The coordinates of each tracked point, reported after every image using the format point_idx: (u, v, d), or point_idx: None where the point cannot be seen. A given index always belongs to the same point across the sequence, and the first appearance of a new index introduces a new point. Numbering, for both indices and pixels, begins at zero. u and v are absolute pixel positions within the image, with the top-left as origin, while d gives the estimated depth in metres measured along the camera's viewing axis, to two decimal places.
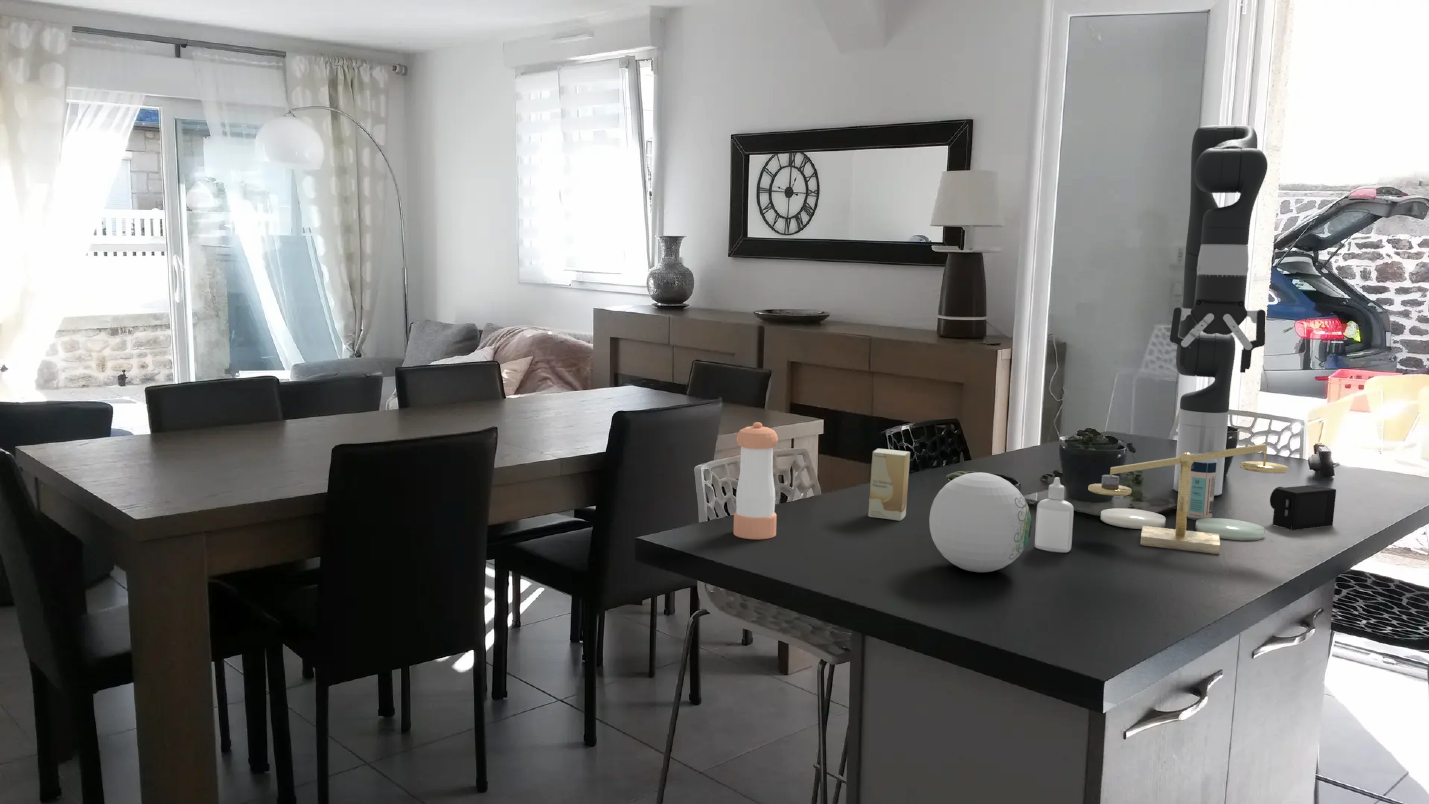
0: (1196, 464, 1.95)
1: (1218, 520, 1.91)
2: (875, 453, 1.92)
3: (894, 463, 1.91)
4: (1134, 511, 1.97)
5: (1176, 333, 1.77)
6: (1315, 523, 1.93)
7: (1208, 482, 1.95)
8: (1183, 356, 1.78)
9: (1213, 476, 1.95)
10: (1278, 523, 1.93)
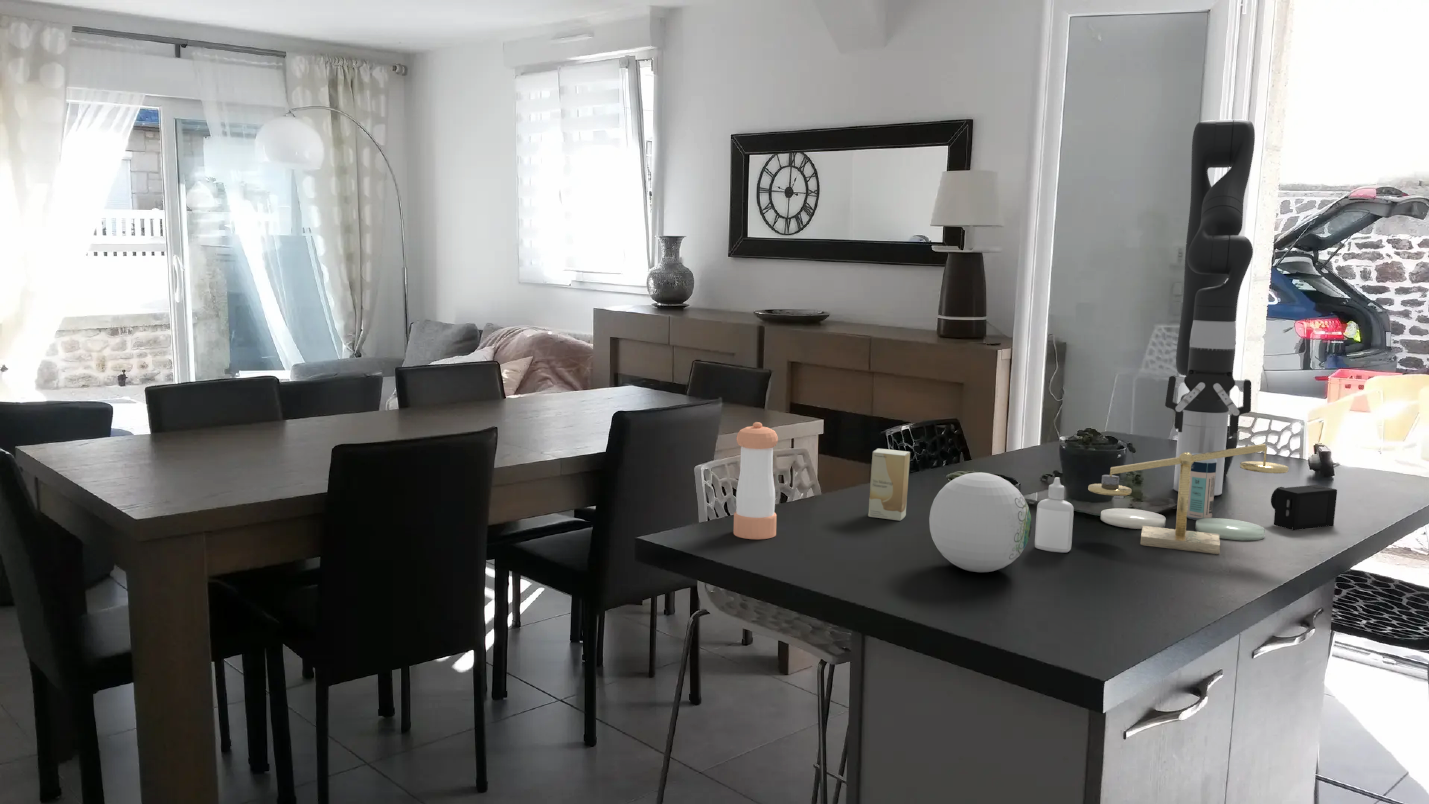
0: (1196, 464, 1.95)
1: (1218, 520, 1.91)
2: (875, 453, 1.92)
3: (894, 463, 1.91)
4: (1134, 511, 1.97)
5: (1171, 399, 1.96)
6: (1316, 523, 1.92)
7: (1208, 482, 1.95)
8: (1177, 420, 1.97)
9: (1213, 476, 1.95)
10: (1279, 523, 1.93)
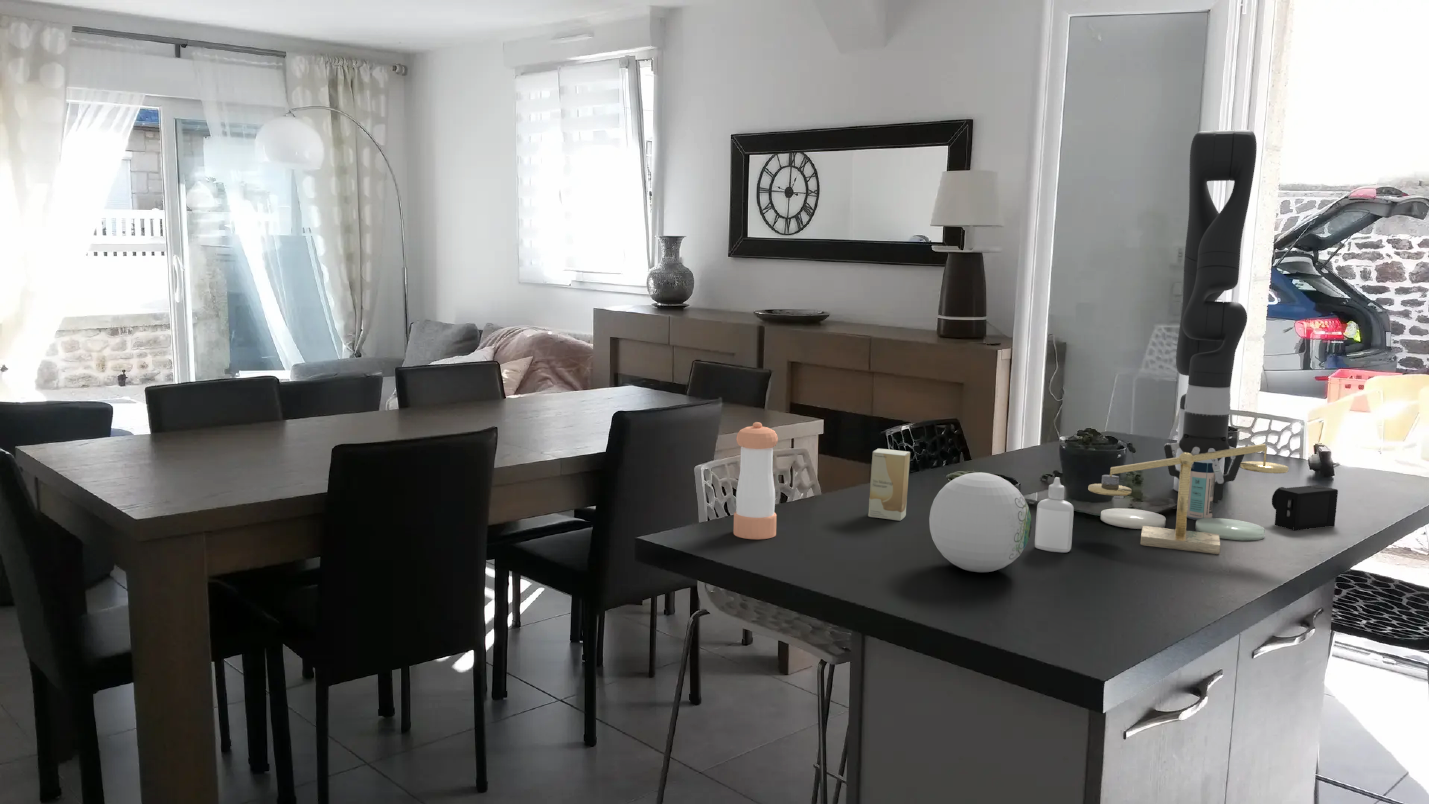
0: (1196, 464, 1.95)
1: (1218, 520, 1.91)
2: (875, 453, 1.92)
3: (894, 463, 1.91)
4: (1134, 511, 1.97)
5: (1173, 467, 1.98)
6: (1317, 523, 1.92)
7: (1208, 482, 1.95)
8: None
9: (1213, 476, 1.95)
10: (1280, 524, 1.93)
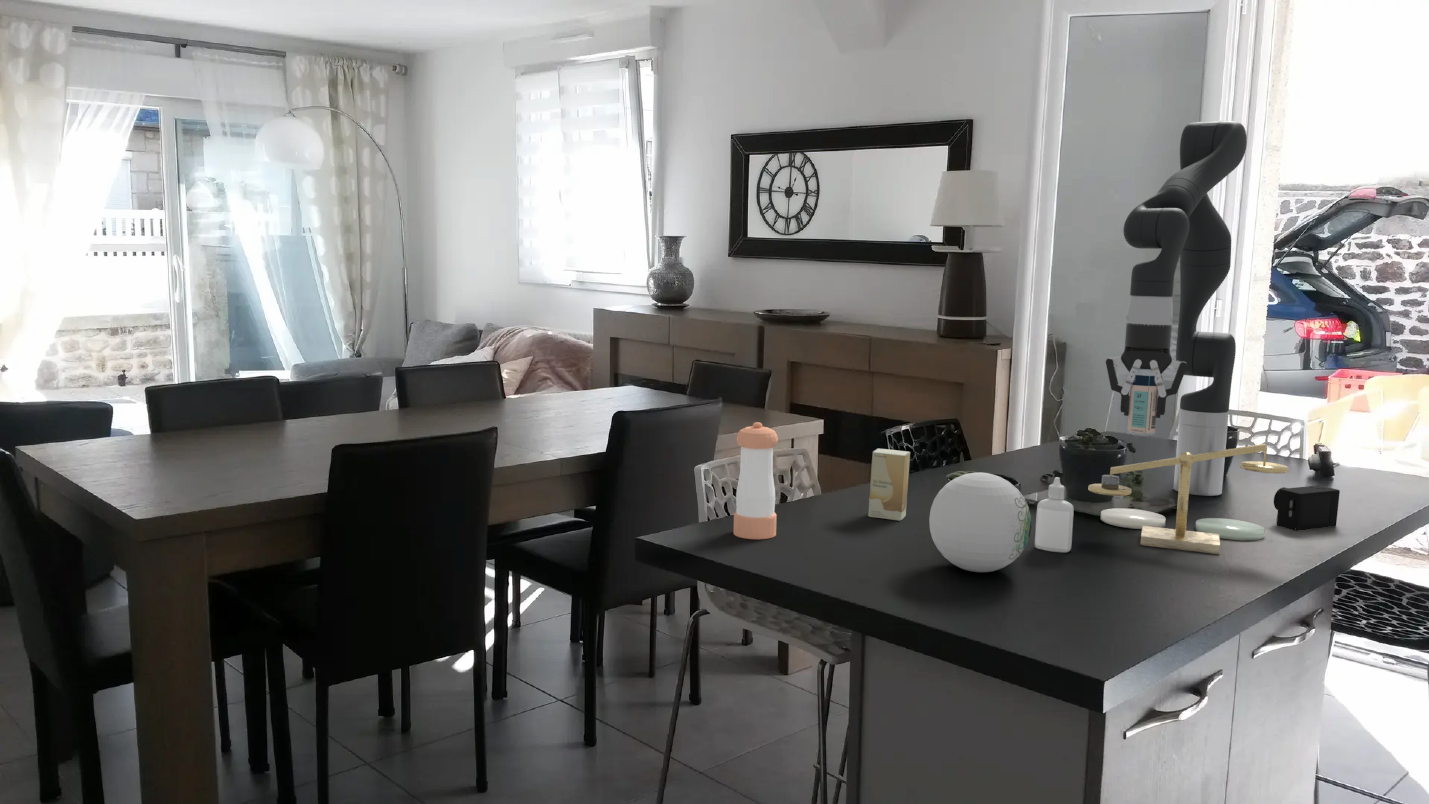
0: (1138, 377, 1.89)
1: (1218, 520, 1.91)
2: (875, 453, 1.92)
3: (894, 463, 1.91)
4: (1134, 511, 1.97)
5: (1115, 381, 1.92)
6: (1319, 523, 1.92)
7: (1150, 396, 1.89)
8: (1123, 403, 1.92)
9: (1155, 390, 1.89)
10: (1282, 524, 1.92)
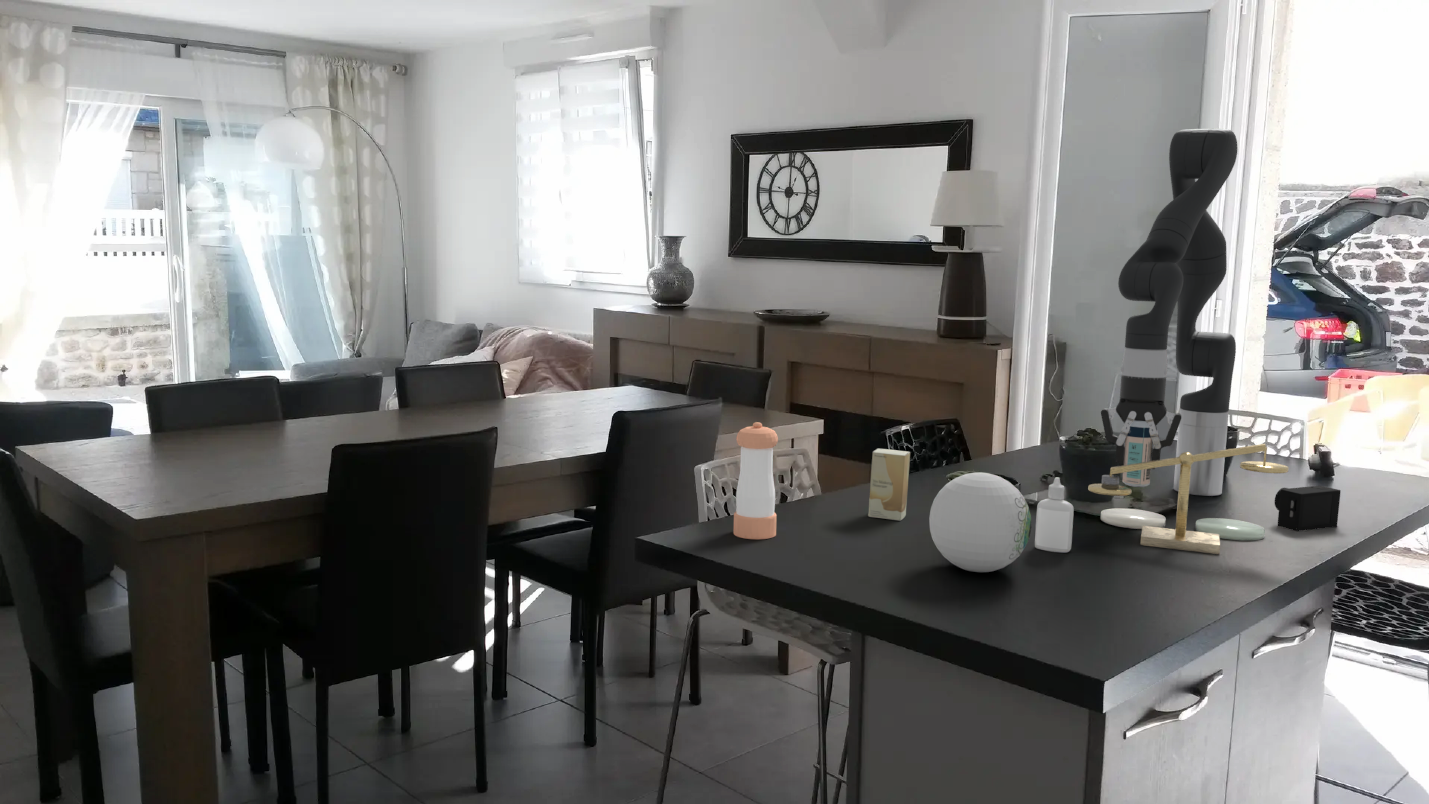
0: (1132, 429, 1.90)
1: (1218, 520, 1.91)
2: (875, 453, 1.92)
3: (894, 463, 1.91)
4: (1134, 511, 1.97)
5: (1110, 432, 1.93)
6: (1320, 524, 1.92)
7: (1145, 447, 1.90)
8: (1118, 454, 1.93)
9: (1150, 441, 1.90)
10: (1283, 524, 1.92)
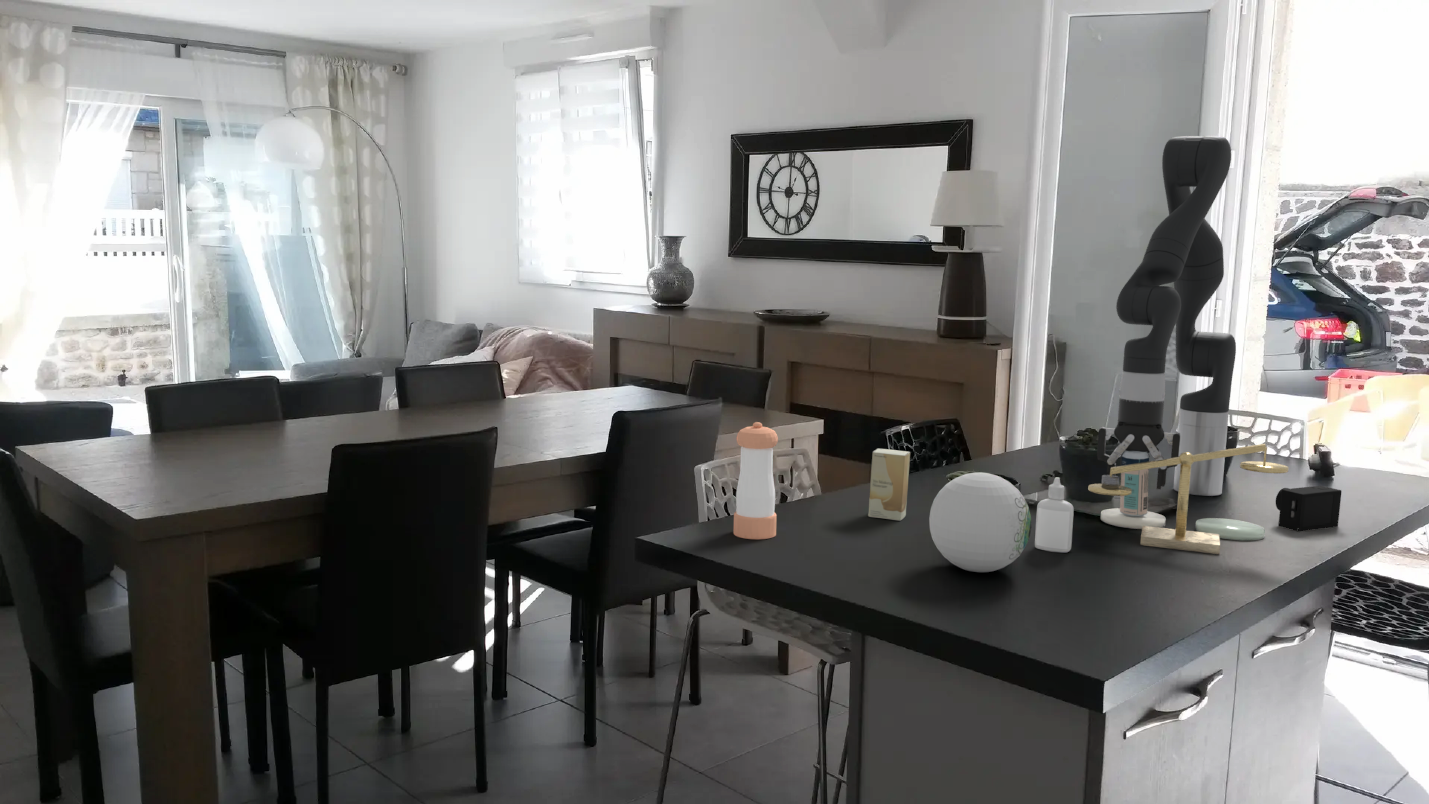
0: (1128, 460, 1.91)
1: (1218, 520, 1.91)
2: (875, 453, 1.92)
3: (894, 463, 1.91)
4: None
5: (1102, 452, 1.94)
6: (1321, 524, 1.92)
7: (1141, 478, 1.91)
8: (1109, 472, 1.94)
9: (1146, 472, 1.91)
10: (1284, 524, 1.92)
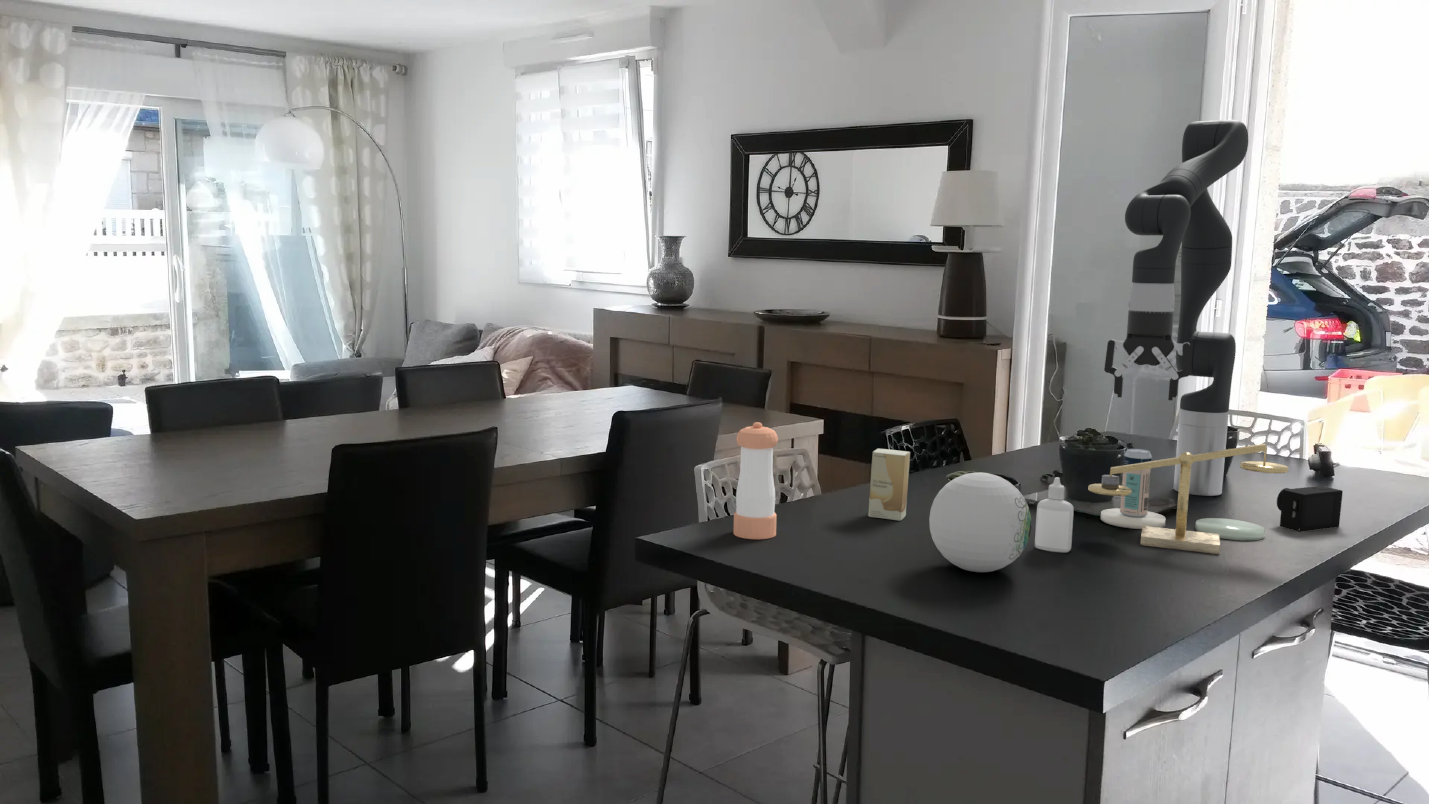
0: (1130, 460, 1.91)
1: (1218, 520, 1.91)
2: (875, 453, 1.92)
3: (894, 463, 1.91)
4: None
5: (1110, 364, 1.93)
6: (1322, 524, 1.92)
7: (1142, 478, 1.91)
8: (1117, 385, 1.93)
9: (1148, 472, 1.91)
10: (1285, 525, 1.92)
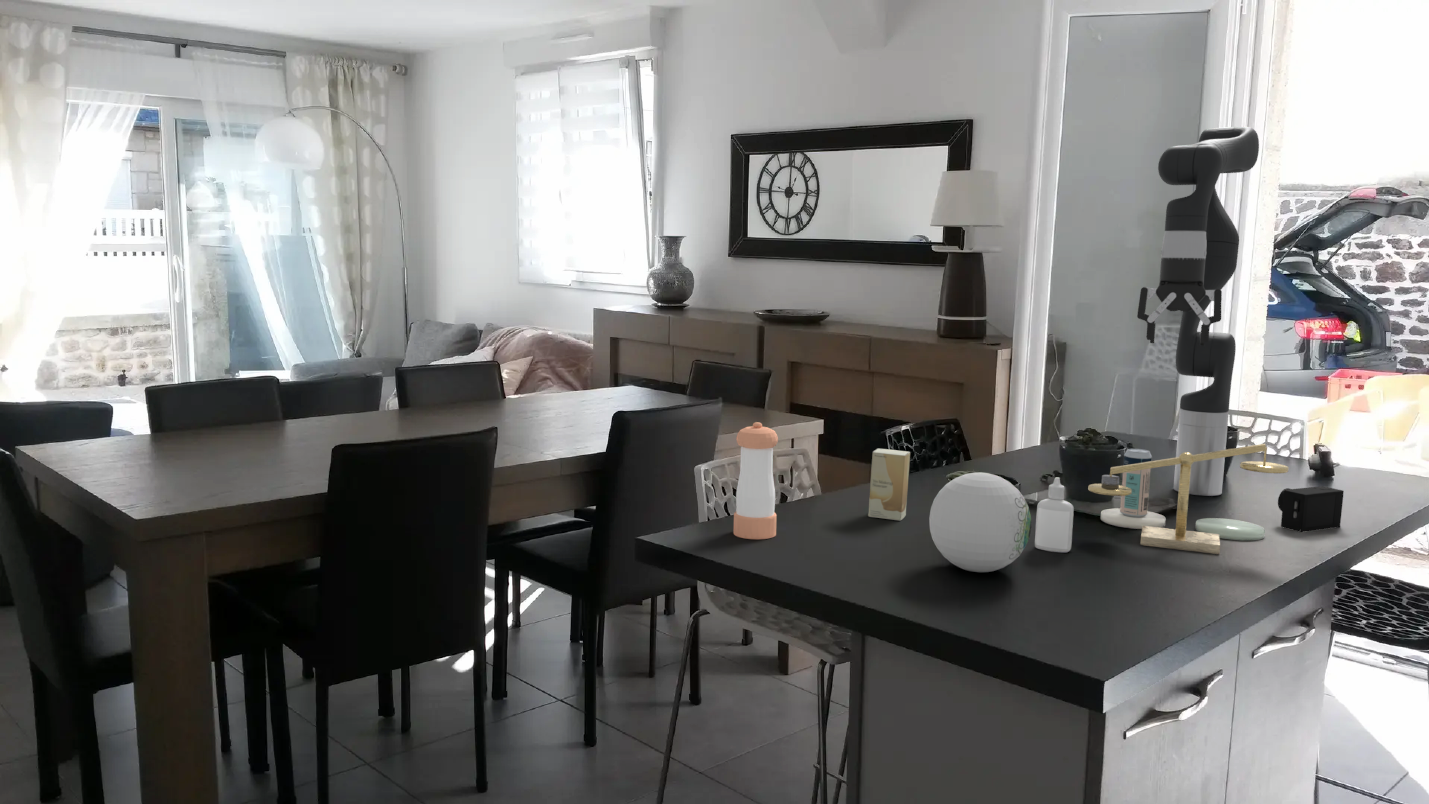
0: (1130, 460, 1.91)
1: (1218, 520, 1.91)
2: (875, 453, 1.92)
3: (894, 463, 1.91)
4: None
5: (1143, 310, 1.99)
6: (1324, 524, 1.91)
7: (1142, 478, 1.91)
8: (1149, 331, 1.99)
9: (1148, 472, 1.91)
10: (1286, 525, 1.92)
